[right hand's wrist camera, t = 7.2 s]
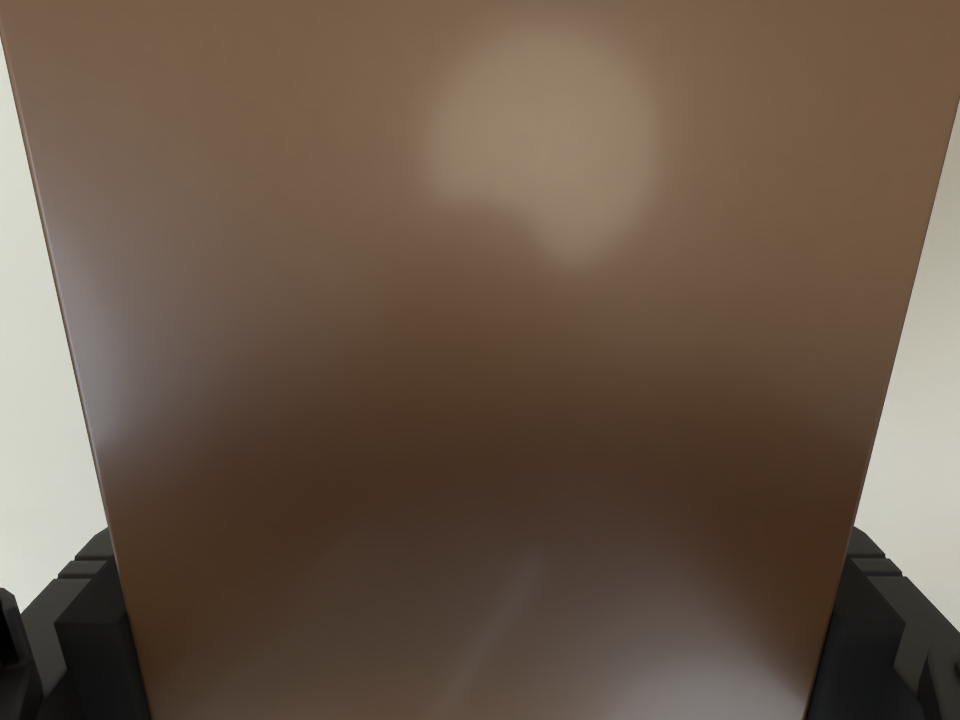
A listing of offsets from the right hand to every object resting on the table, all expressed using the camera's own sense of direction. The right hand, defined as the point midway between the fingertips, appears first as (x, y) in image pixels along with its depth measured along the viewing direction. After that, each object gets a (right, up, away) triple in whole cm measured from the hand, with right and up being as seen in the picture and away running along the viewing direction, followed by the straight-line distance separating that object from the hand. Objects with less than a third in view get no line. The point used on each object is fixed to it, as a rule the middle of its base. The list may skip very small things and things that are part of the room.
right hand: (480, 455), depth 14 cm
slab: (0, +20, -7) cm, 21 cm away
